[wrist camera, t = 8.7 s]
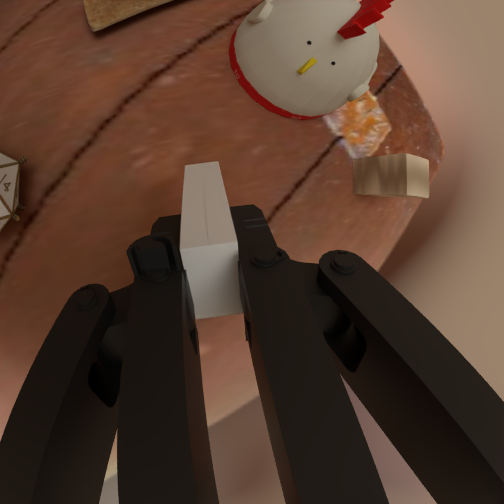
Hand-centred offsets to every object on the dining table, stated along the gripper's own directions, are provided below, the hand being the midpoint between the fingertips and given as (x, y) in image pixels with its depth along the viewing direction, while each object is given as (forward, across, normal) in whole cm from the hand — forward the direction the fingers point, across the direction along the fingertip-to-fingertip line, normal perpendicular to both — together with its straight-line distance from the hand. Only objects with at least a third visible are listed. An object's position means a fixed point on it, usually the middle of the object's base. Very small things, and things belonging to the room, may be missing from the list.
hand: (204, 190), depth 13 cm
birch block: (+15, +18, -7) cm, 25 cm away
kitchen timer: (+19, +10, +6) cm, 23 cm away
